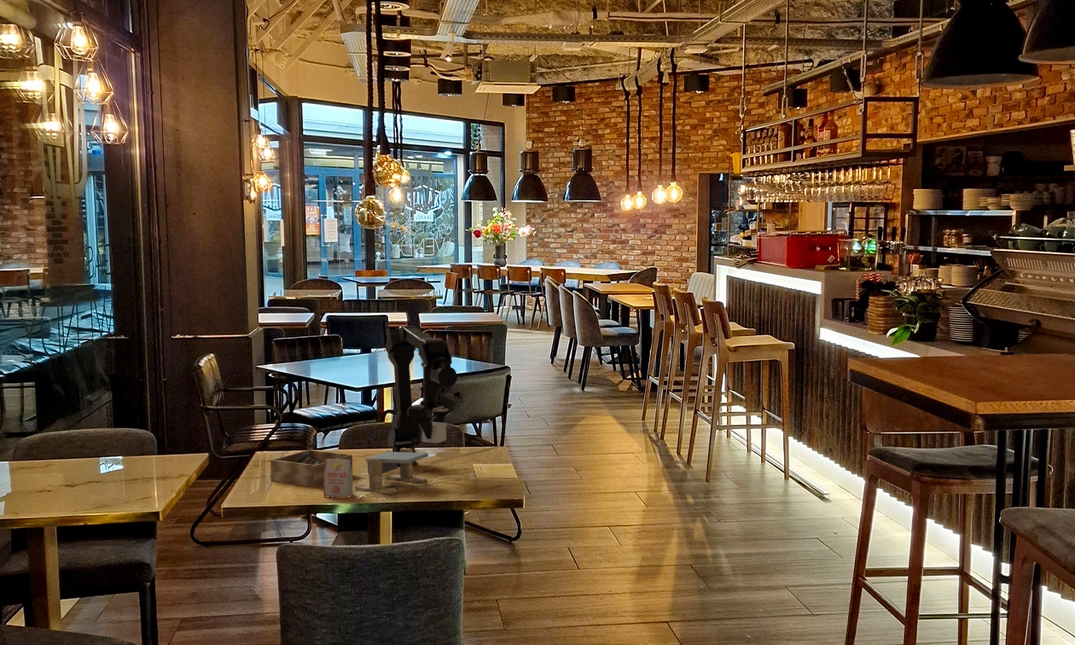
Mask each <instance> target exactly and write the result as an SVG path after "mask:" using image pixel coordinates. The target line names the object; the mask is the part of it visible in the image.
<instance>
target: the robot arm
mask: <svg viewBox="0 0 1075 645" xmlns="http://www.w3.org/2000/svg"><path fill="white" fill-rule="evenodd" d="M385 343H386V344H385V350H386V353H387V358H388V361H390V363H391V364H392V366H393V368H394V369H393V371H394V373H393V374H394V390H395V404H396V414H395V416H394V418H393V419H392V421H391V430H390V432H389V434H388V436H387V444H388V446H389V447H391V449H392V451H391V452H400V449H402V448H409V449H413V453H417V450H416V447H415V446H419V445H420V441H421V440H420V439H421V435H422V430H423V432H424V434H425V436H426V438H427V439H431V434H432V423H433V422H441V423H446V419H447V418H448V416H450V414H452V413H453V412H455V411H458V410H460V408H461V405H462V404H464V402H465V401H464V393H463V392H462V391H456V392H454V393H453V392H452V393H450V392H448V388H451V387H453V386H454V385H455V384H456V382H457V380H458V374H457V371H456V369H455V368H453V367H451V364H452V363H453V360H452V359H453V357H452V354H451V352H450V349H449V348H448V344H447V343H446V341H445V340H444V339H442V338H438V337H437V338H435V337H430V336H429V335H428V334H426V333H424V332H423V331H422V330H420V329H419V328H418V326H415V325H410V326H409V325H407V326H405V325H404V326H402V327H400V328H399V330H398V331H396V332H394V333H393V334H391V335H390V336H389V338H388V339H387V341H386V342H385ZM416 349H417V350H418V352H417V354H418V356H419V357H420V359H421V361H422V363H421V365H420V366H421V367H422V373H423V374H422V377H423V378H422V379H423V380H422V381H423V382H422V383H423V385H422V386H421V387H420V389H419V390H420V391H421V392H423V400H421V401H420V404H414V405H413V402H412V400H413V399H412V385H411V384H412V383H411V382H412V381H411V370H410V369H411V366H410V365H411V363H412V361H413V359H414V357H415V350H416ZM418 464H419V462H418V461H417V460H416V461H414V462H413V466H415V465H418ZM397 466H398V468H400V463H397Z"/></svg>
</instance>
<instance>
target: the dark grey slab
mask: <svg viewBox="0 0 1075 645" xmlns="http://www.w3.org/2000/svg"><path fill="white" fill-rule="evenodd" d="M428 457H429V453H428V452H416V453H411V452H392V451H386V452H382V453H380V454H376V455H373V456H369V457H367V458H365V461H366V463H367V472H368V475H369V459H370V458H382V475H383V474H386V473H389V472H391V471H393V470H397V469H398V468H399V467H398V466H397V463H411V462H414V461H416V462H417V461H419V460H422V459H425V458H428Z"/></svg>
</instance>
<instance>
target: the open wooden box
mask: <svg viewBox="0 0 1075 645" xmlns="http://www.w3.org/2000/svg"><path fill="white" fill-rule="evenodd" d="M308 450H309V454H310V457H311V458H312V459H314V460H316V461H317V462H319V464H317V465H311V464H303V463H295V462H293V461H294V460H295V459H297V458H298V457H299V456H300V455H302V454H303V453H305V452H306V451H308ZM326 459H344V460H350V465H351V469H352V476H353V469H354V468H353V454H348V453H342V452H341V453H339V452H332V451H331V452H330V451H322V450H314V449H306V450H303V451H299V452H295V453H292V454H288V455H284V456H280V457H278V458H273V459H270V481H271V482H278V483H285V484H292V485H299V486H305V487H306V486H308V487H314V488H316V487H320V486H324V484H323V474H324V468H325V461H326Z"/></svg>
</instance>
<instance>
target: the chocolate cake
mask: <svg viewBox="0 0 1075 645" xmlns="http://www.w3.org/2000/svg"><path fill="white" fill-rule="evenodd" d="M307 450H308V451H306V450H305V451H306V452H305V453H303V454H302V455H300V456H299V457H298V458H297V459H295V460H294V461H293V462H295V463H303V464H311V465H317V464H319V462H317V461H316V460H314V459H312V458H311V457H310V454H309V450H310V449H307Z"/></svg>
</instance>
